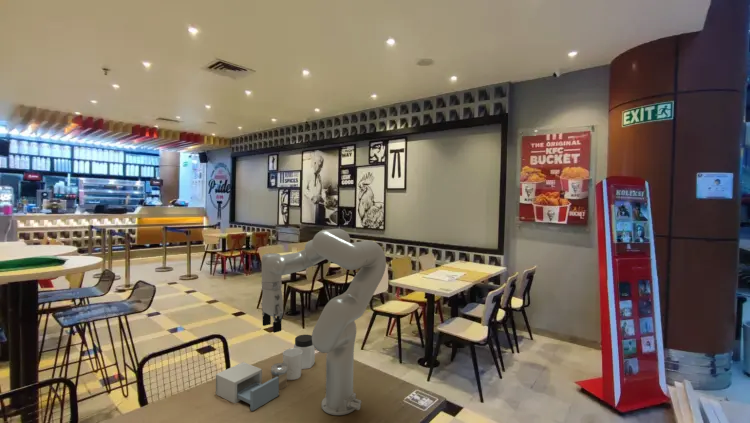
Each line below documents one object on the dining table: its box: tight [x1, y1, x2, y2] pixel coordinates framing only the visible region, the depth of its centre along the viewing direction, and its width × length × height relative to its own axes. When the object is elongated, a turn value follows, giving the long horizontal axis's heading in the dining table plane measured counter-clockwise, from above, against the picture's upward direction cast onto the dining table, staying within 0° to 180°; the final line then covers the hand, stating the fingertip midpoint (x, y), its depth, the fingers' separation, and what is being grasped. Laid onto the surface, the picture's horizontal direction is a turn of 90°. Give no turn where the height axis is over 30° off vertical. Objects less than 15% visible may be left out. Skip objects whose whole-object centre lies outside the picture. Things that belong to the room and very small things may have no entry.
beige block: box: [271, 373, 288, 391], centre depth 136 cm, size 4×4×6 cm
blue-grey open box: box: [237, 377, 280, 412], centre depth 127 cm, size 11×12×7 cm
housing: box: [215, 361, 263, 404], centre depth 132 cm, size 11×12×8 cm
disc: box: [270, 362, 287, 375], centre depth 136 cm, size 6×6×2 cm
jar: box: [293, 334, 316, 370], centre depth 155 cm, size 9×8×12 cm
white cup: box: [282, 347, 303, 381], centre depth 145 cm, size 8×8×10 cm
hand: (271, 328), depth 139 cm, fingers open, 9 cm apart
